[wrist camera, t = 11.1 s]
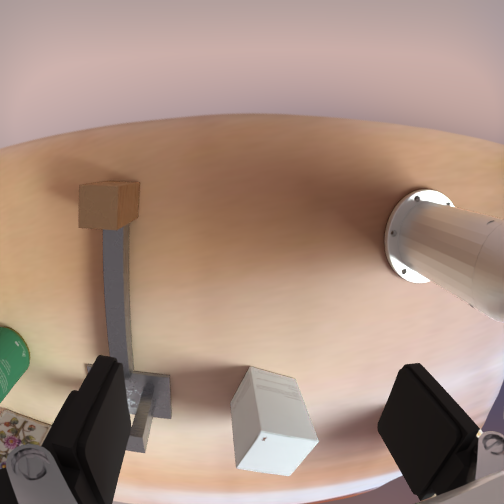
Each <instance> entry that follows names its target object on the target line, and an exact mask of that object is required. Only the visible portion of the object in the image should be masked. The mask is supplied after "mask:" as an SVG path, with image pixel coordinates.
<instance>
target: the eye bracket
mask: <svg viewBox="0 0 504 504" xmlns="http://www.w3.org/2000/svg"><path fill="white" fill-rule="evenodd" d="M92 366H93V365H91V364H88V365H87V369H88V373H89V371H90V369H91V367H92ZM124 379H125V387H126V394H127V401H128V408H129V414H135V418H134V421H133V425H132V427H131V432H130V436H129V439H128V443H127V447H126V450H128V451H134V452H141V453H145V451H146V447H147V442H148V437H149V433H150V428H151V423H152V419H153V417H158V418H167V419H171V417H172V415H171V394H170V375H163V374H154V373H145V372H137V371H133V373H132V375H131V378H130V379H127V378H124Z"/></svg>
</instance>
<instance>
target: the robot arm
mask: <svg viewBox="0 0 504 504" xmlns="http://www.w3.org/2000/svg"><path fill="white" fill-rule="evenodd" d="M414 198H415V199H414ZM391 232H392V233H391ZM384 244H385V252H386V256H387V259H388V262H389V264H390V266H391V267H392V269H393V270H394V271H395V272H396V273H397V274H398V275H399V276H400V277H402V278H404V279H405V280H407V281H410V282H413V283H424V282H428V281H431V282H433V283H435V284H436V285H438V286H440V287H441V288H443V289H444V290H446V291H448V292H449V293H451V294H453V295H454V296H456V297H457V298H459V299H461V300H462V301H464V302H465V303H467V304H468V305H470V306H472V307H473V308H475V309H476V310H478V311H480V312H481V313H483V314H484V315H486V316H487V317H489V318H491V319H493V320H495V321H498V322H503V323H504V219H501V218H498V217H494V216H490V215H486V214H482V213H478V212H474V211H470V210H466V209H462V208H457V207H454V205H453V203H452V202H451V201H450V200H449V199H448V198H447V197H446V196H445V195H444V194H442V193H440V192H438V191H435V190H429V189H420V190H417V191H413V192H412V193H410V194H408V195H406V196H405V197H404V198H403V199H402V200H400V202H399V203H398V204H397V205H396V206H395V208H394V210H393V211H392V213H391V215H390V217H389V220H388V223H387V226H386V231H385V242H384ZM479 430H480V428H479V427H478V426H477V425H476V424H475V423H474V422H473V420H472V419H471V418H470V417H469V416H468V415H467V414H466V413H465V411H464V410H463V409H462V408H461V407H460V406H459V405H458V404H457V403H456V401H455V400H454V399H453V398H452V397H451V396H450V395H449V394H448V393H447V392H446V391H445V389H444V388H443V387H442V386H441V385H440V384H439V383H438V382H437V381H436V380H435V379H434V378H433V376H432V375H431V374H430V373H429V372H428V371H427V370H426V369H425V368H424V367H423V366H422V365H421V364H420V363H415V364H406V365H404V366H403V368H402V369H400V370H399V372H398V375H397V377H396V380H395V383H394V385H393V388H392V390H391V393H390V396H389V398H388V401H387V403H386V405H385V408H384V410H383V413H382V415H381V417H380V420H379V422H378V432H379V434H380V435H381V437H382V439H383V441H384V442H385V444H386V446H387V448H388V450H389V451H390V453H391V455H392V457H393V458H394V460H395V462H396V464H397V465H398V467H399V469H400V471H401V473H402V474H403V476H404V478H405V480H406V482H407V483H408V485H409V487H410V489H411V491H412V492H413V494H415V495H417V496H418V498H419V499H420V501H421V502H419V503H415V504H504V435H502V434H501V433H498V432H494V431H488V432H484V433H482V434H481V436H480V437H479V438H478V437H477V436H476V435H477V433H478V431H479ZM130 432H131V420H130V414H129V408H128V401H127V394H126V387H125V379H124V370H123V364H122V363H119V362H118V361H117V358H115V357H108V356H102V355H99V356H98V357H97V359H96V360H95V362H94V364H93V366H92V367H91V369H90V371H89V373H88V374H87V376H86V378H85V380H84V382H83V383H82V385H81V387H80V389H79V391H76V390H73V391H71V393H70V394H69V396H68V397H67V399H66V401H65V403H64V404H63V406H62V408H61V410H60V412H59V413H58V415H57V417H56V419H55V421H54V423H53V424H52V426H51V428H50V430H49V432H48V434H47V436H46V438H45V440H44V441H43V443H42V445H41V446H39V445H34V444H25V445H21V446H18V447H16V448H15V449H13V450H12V451H11V452H10V453H9V455H8V456H7V460H6V467H5V468H2V469H0V504H112V502H113V498H114V494H115V489H116V485H117V481H118V477H119V473H120V469H121V465H122V462H123V458H124V454H125V450H126V447H127V443H128V439H129V436H130ZM434 494H436V496H435V497H433V496H434ZM431 497H433V498H431ZM428 498H430V499H428ZM425 499H427V500H425ZM422 500H424V501H422Z"/></svg>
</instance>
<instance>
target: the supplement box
mask: <svg viewBox="0 0 504 504" xmlns="http://www.w3.org/2000/svg"><path fill="white" fill-rule="evenodd" d="M230 405H231V417H232V429H233V441H234V451H235V462H236V468H237V469H243V470H249V471H255V472H262V473H269V474H276V475H284V476H290V475H291V474H292V473H293V472H294V470H295V469H296V468H297V467H298V466H299V465H300V463H301V462H302V461H303V460H304V459H305V457H306V456H307V455H308V454H309V453H310V452H311V450H312V449H313V448H314V447H315V446H316V444H317V443H318V442H319V440H318V437H317V435H316V432H315V430H314V427H313V424H312V422H311V419H310V416H309V413H308V411H307V408H306V405H305V403H304V400H303V397H302V394H301V392H300V389H299V387H298V384H297V381H296V379H294V378H290V377H287V376H283V375H279V374H276V373H272V372H268V371H265V370H261V369H258V368H254V367H251V366H250V367H249V369H248V371H247V373H246V375H245V376H244V378H243V380H242V382H241V384H240V386H239V387H238V389H237V391H236V393H235V395H234V397H233V399H232V400H231V403H230Z"/></svg>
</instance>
